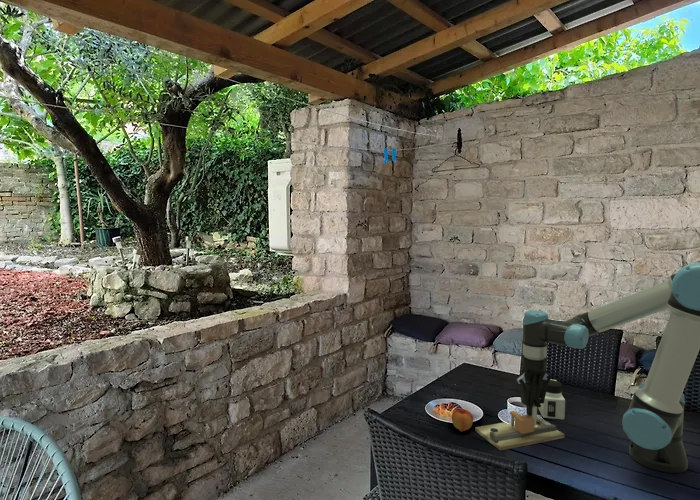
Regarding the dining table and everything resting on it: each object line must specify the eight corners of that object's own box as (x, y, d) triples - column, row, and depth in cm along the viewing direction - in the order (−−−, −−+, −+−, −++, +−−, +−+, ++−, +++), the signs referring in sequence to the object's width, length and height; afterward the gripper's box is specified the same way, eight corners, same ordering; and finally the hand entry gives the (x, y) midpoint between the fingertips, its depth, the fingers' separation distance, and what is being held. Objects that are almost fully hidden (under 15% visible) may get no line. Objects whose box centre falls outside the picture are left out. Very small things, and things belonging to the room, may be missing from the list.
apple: (460, 436, 154) (461, 414, 153) (447, 427, 160) (447, 406, 160) (477, 432, 157) (477, 410, 156) (463, 423, 164) (464, 402, 163)
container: (564, 419, 166) (566, 385, 165) (542, 417, 168) (543, 384, 167) (559, 410, 174) (560, 378, 173) (538, 409, 175) (539, 376, 174)
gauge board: (564, 437, 153) (564, 427, 153) (500, 450, 145) (500, 439, 144) (535, 420, 166) (535, 410, 166) (475, 430, 158) (475, 420, 158)
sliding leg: (534, 434, 151) (534, 418, 151) (521, 437, 150) (522, 421, 149) (517, 423, 159) (517, 408, 159) (505, 426, 158) (506, 410, 157)
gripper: (542, 351, 157) (539, 416, 159) (510, 355, 153) (508, 421, 155) (558, 358, 150) (555, 426, 152) (525, 362, 146) (523, 431, 148)
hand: (531, 423), depth 153 cm, fingers closed
